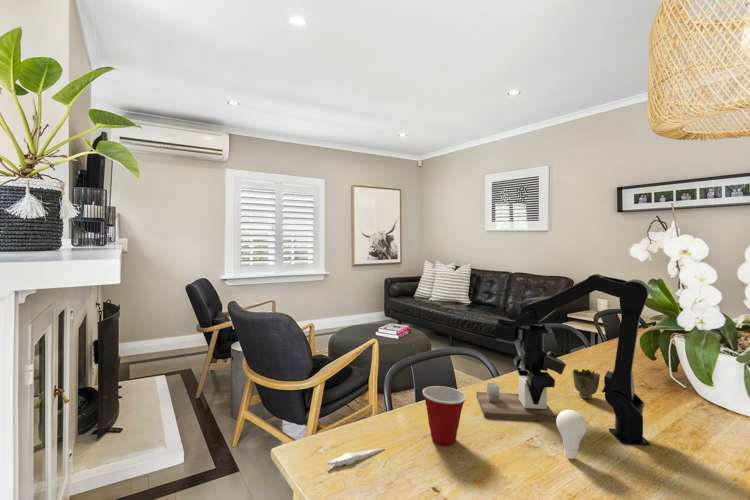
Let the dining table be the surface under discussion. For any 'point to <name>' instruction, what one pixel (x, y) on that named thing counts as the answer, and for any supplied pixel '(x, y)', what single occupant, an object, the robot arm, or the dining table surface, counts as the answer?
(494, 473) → the dining table surface
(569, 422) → the lightbulb
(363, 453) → the white tapered spike
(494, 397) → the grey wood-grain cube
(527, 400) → the off-white cube
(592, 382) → the dark bronze hollow piece
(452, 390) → the plastic cup
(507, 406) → the board
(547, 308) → the robot arm
